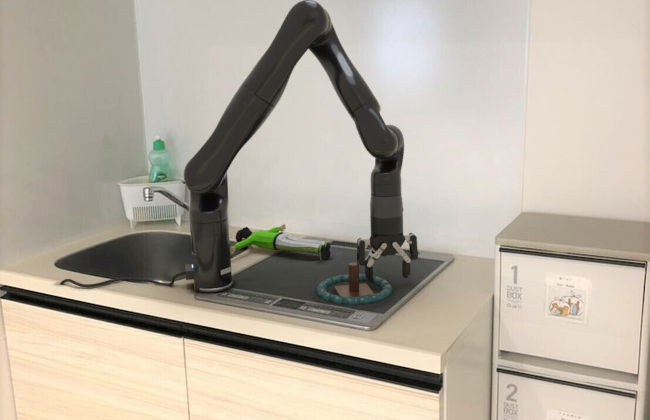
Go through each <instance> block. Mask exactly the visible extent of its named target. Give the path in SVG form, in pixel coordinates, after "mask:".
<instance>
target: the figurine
mask: <svg viewBox="0 0 650 420" xmlns="http://www.w3.org/2000/svg"><path fill="white" fill-rule="evenodd" d="M286 229H287V226H286V224H285V223H284V224H281V225H280V226H274V227H272V228H269V229H266V230H262V229H261V230H255V231H254V232H253V231H252V230H251V228H249V227H248V226H246V227H245V226H244V227H242V228H241V229H238V230H237V232H236V233H235V241H236V242H237V243H235V244H234V245H230V255H233V254H235V253H236V250H241V249H245V248H248V247H251V246H255V247H257V248H259V249H264V250H268V251H269V250H270V251H277V252H280V251H285V252H286V251H287V252H297V253H301V252H302V253H309V254H314V255H318V257H319V260H320V261H321V262H323V261H325V260H329V259H330V257H331V253H332V252H331V244H330V243H329V242H326V241H323V240H316V239H308V238H300V237H295V236H293V235H290V234H289V233H285V231H286Z"/></svg>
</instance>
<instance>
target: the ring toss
mask: <svg viewBox="0 0 650 420" xmlns="http://www.w3.org/2000/svg"><path fill="white" fill-rule="evenodd" d="M348 274H349V281H348V284H342V285H341V284H340V285H334V286H333V287H334V289H335V291H336V292H337V294H338V296H342V297H363V296H370V295H373V294H375V292H374V291H373V290H372V288H370V285H368V284H367V282H362V283H361V282H360V281H359V274H360V264H359V263H358V262H357V261H356V262H355V261H352V262H349V263H348Z"/></svg>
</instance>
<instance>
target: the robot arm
mask: <svg viewBox="0 0 650 420" xmlns="http://www.w3.org/2000/svg"><path fill="white" fill-rule="evenodd" d="M338 36H339V35H338V34H337V31H336V29H335V26H334V24H333V22H332V19H331V16H330V13H329V12H328V11H327V10H326V8H325V7H324V6H323V5H322V4H320V3H319V2H318V1H315V0H300V1H298V2H296V3H295V4H294V5H292V7H291V8H289V11H288V12H287V14H286V16H285V17H284V19H283V21H282V23H281V25H280V27H279V28H278V31H277V32H276V34H275V36H274V38H273V40H272V41H271V43H270V45H269V46H268V48H267V49H266V51H265V52H264V53H263V54H262V56H261V57H260V59H259V60H258V61H257V62H256V64H255V65H254V66H253V68H252V69H251V71H249V74H248V75H247V76H246V78H244V80H243V82H242V83H241V84H240V86H239V87H238V89H237V90H236V92H235V93H234V95H233V96H232V98H231V99H230V101H229V103H228V105H226V108H225V110H224V111H223V112H222V115H221V117H220V119H219V120H218V122H217V124H216V126H215V128H214V130H213V131H212V133H211V134H210V136H209V137H208V139H206V141H205V142H204V143H203V145H202V146H201V147H200V148H199V150H198V151H197V152H196V153H195V154H194V155H193V156H192V157H191V158H190V159H189V160H188V161H187V163H186V164H185V166H184V169H183V181H184V184H185V187H186V188H187V189H188V190H189V196H190V197H189V206H188V207H189V208H188V216H189V218H188V219H189V230H190V231H189V232H190V245H191V259H192V260H191V261H192V263H187V264H185V265H184V271H181V272H178V273H176V274H175V275H173V276H172V277H171V281H170V282H167V283H165V282H161V281H158V280H154V279H149V278H143V277H142V278H141V277H131V276H130V277H129V276H128V277H116V278H112V279H107V280H103V281H100V282H96V283H90V284H89V283H88V284H85V283H81V282H78V281H76V280H73V279H72V278H65V279H63V280H62V281H61V282H60V283H59V285H64V284H65V283H67V282H68V283H71V284H73V285H75V286H78V287H81V288H96V287H99V286H103V285H107V284H111V283H114V282H120V281H135V282H136V281H137V282H142V283H143V282H144V283H151V284H155V285H160V286H165V287H170V286H173V285H174V284H175V280H176V279H177V278H178V277H181V276H183V275H185V280H186V281H192V280H193V289H194V292H195V293H198V292H201V293H219V292H223V291H227V290H228V289H230V288H232V287H233V284H234V283H233V282H234V281H233V273H232V258H231V257H232V256H231V253H230V247H231V241H230V226H229V225H230V224H229V183H228V181H229V179H228V170H229V168H230V167H231V165H232V164H233V162H234V160H235V158H236V157H237V155H238V154H239V153H240V151H241V150H242V148H243V147H245V145H246V144H247V143H248V142H249V141H250V140H251V139H252V138H253V136H254V135H255V134H256V133H257V132H258V131H259V130H260V128H261V127H262V126H263V125H264V123H265V122H266V121H267V120H268V119H269V117H270V116H271V114H272V113H273V112H274V110H275V108H276V107H277V106H278V104H279V102H280V101H281V99H282V97H283V95H284V93H285V92H286V91H285V90H286V89H287V86H288V83H289V81H290V78H291V76H292V74H293V71H294V69H295V67H296V66H297V64H298V63H299V61H300V60H301V59H302V58H303V56H304V55H305V54H306V52H307V51H308V50H309V52H311V54H312V55H313V56H314V57H315V58H316V60H317V61H318V62H319V63H320V65H321V67H322V68H323V70H324V71H325V73H326V75H327V77H328V79H329V81H330V83H331V85H332V87H333V89H334V92H335V93H336V95H337V97H338V99H339V101H340V103H341V104H342V105H343V107H344V109H345V110H346V112H347V114H348V115H349V116H350V118H351V119H352V121H353V122H354V125H355V128H356V131H357V133H358V136H359V138H360V141H361V143H362V145H363V147H364V148H365V150H366V152H367V153H368V154H369V155H370V156H371V157H372V158H374V167H373V169H372V170H371V172H370V200H369V214H370V215H369V217H370V219H369V221H370V237H369V238H366V239H365V238H362V237H358V238H357V241H356V242H357V243H356V263H359V266H361V267H362V266H363V267H364V274H365V276H366V278H367V280H369V282H368V283H370V282H373V276H374V267H373V265H374V264H375V262H376V261H377V260H378V259H379V257H380V256H381V257H386V256H396V254H398V255H399V256H400V257H401V259H402V261H401V274H402V277H403V279H409V276H410V275H411V263H412V261H414V260H418V259H419V252H418V237H417V235H415V233H413V232H409V233H408V234H405V235H404V202H403V195H402V168H403V164H404V163H403V161H404V154H405V138H404V134H403V132H402V130H401V129H400V128H399V127H398V126H397V125H395V124H386V123H385V121H384V118H383V117H382V115H381V110H382V107H381V105H380V103H379V101H378V99H377V97H376V96H375V94H374V93H373V91H372V90H371V88H370V86H369V85H368V83H367V81H366V80H365V79H364V77H363V76H362V74H361V73H360V72H359V70H358V68H357V67H356V66H355V64H354V63H353V62H352V59H350V57H349V56H348V54H347V52H346V50H345V49H344V47H343V45H342V43H341V40H340V39H339V37H338ZM405 242H406V243H407V244H408V247H409V253H408V254H407V253H406V252H405V250H404V249H403V248H402V247H403V245H404V244H405ZM369 245H370V246H371V249H370V251H369V252H368V255H367V256H366V255H365V254H366V249H368V246H369ZM365 257H366V258H365Z"/></svg>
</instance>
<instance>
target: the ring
mask: <svg viewBox="0 0 650 420" xmlns="http://www.w3.org/2000/svg"><path fill="white" fill-rule="evenodd" d="M343 282H349V273H348V274H339V275H333V276H330V277H327V278H325V279H324V280H322V281H321V282H319V283H318V284H317V286H316V288H315V293H316V295H317V297H318V298H320V299H322V300H324V301H326V302H328V303H333V304H337V305H346V306H347V305H350V306H358V305H359V306H360V305H371V304H374V303H378V302H381V301H385V300H386V299H387V298H389V297H390V296H392V294H393V291H394V290H393V289H394V287H393V286H392V285H391V283H390V282H389V281H388V280H386V279H384V278H382V277H379V276H377V275H373V282H369V280H367V278H366V276H365V273H364V274H363V273H359V282H364V283H370V284H374V285H376V286H379V288H380V289H381V290H380V291H379V292H377V293H374V294H373V295H367V296H357V297H342V296H340V295H337V294H333V293H331V292H329V291H327V290H328V288H330V287H332V286H333V285H335V284H339V283H343Z"/></svg>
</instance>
